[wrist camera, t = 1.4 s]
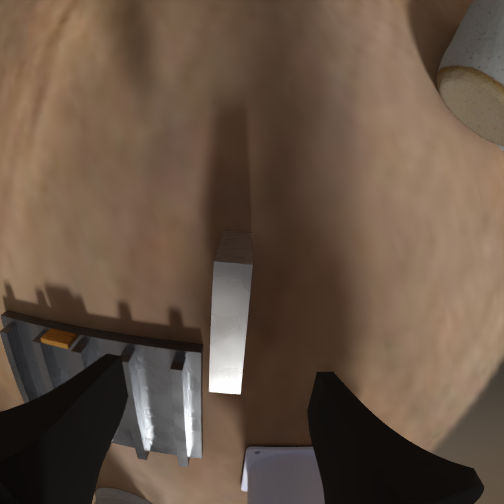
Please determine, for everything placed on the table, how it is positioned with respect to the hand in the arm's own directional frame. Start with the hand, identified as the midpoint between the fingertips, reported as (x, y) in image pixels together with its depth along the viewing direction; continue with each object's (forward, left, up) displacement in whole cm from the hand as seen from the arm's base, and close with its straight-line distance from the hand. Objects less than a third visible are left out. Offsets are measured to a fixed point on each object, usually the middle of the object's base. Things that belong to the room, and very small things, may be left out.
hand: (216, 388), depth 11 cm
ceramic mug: (-17, -16, -10) cm, 25 cm away
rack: (+10, +10, -9) cm, 17 cm away
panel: (0, 0, -10) cm, 10 cm away
